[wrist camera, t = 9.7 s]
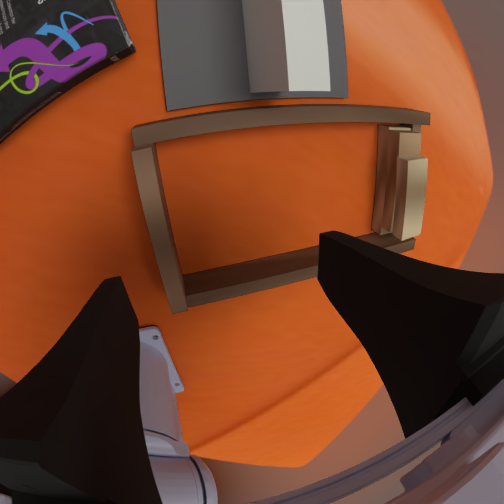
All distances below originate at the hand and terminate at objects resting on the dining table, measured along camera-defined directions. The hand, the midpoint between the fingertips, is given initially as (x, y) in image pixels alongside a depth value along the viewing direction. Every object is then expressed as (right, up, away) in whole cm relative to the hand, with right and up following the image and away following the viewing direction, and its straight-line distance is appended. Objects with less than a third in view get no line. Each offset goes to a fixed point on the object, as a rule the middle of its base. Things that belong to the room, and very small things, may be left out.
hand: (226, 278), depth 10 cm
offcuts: (+12, +7, +12) cm, 18 cm away
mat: (+1, +14, +4) cm, 15 cm away
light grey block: (+1, +14, +4) cm, 15 cm away
